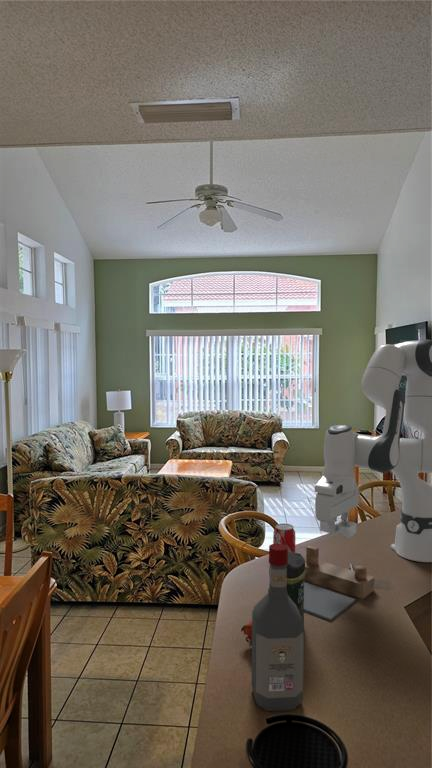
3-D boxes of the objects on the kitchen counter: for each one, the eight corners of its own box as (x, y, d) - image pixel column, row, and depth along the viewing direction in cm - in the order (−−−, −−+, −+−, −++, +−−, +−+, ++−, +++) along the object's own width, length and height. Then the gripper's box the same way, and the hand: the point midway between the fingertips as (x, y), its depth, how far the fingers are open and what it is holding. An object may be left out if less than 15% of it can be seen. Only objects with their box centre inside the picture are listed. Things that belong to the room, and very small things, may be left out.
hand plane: (300, 578, 156) (300, 549, 156) (312, 571, 162) (312, 542, 161) (363, 599, 143) (363, 567, 143) (373, 590, 149) (374, 559, 148)
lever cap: (320, 530, 153) (320, 517, 153) (328, 526, 157) (328, 513, 156) (348, 538, 147) (348, 524, 147) (356, 533, 151) (356, 519, 151)
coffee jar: (295, 644, 121) (296, 566, 120) (263, 635, 125) (264, 559, 124) (308, 625, 130) (309, 552, 128) (278, 617, 133) (279, 546, 132)
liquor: (305, 711, 99) (307, 555, 97) (257, 713, 98) (258, 556, 96) (294, 680, 108) (296, 537, 106) (250, 682, 107) (251, 539, 105)
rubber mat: (298, 582, 154) (298, 580, 154) (355, 601, 142) (355, 599, 142) (271, 598, 143) (271, 596, 143) (330, 621, 132) (330, 618, 132)
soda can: (294, 568, 164) (295, 530, 163) (271, 566, 165) (272, 529, 164) (295, 559, 171) (296, 523, 170) (274, 557, 172) (274, 522, 171)
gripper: (345, 473, 161) (344, 516, 162) (311, 487, 145) (310, 535, 146) (364, 476, 157) (363, 521, 158) (331, 491, 141) (331, 541, 142)
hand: (338, 528), depth 152 cm, fingers closed on lever cap, 5 cm apart
